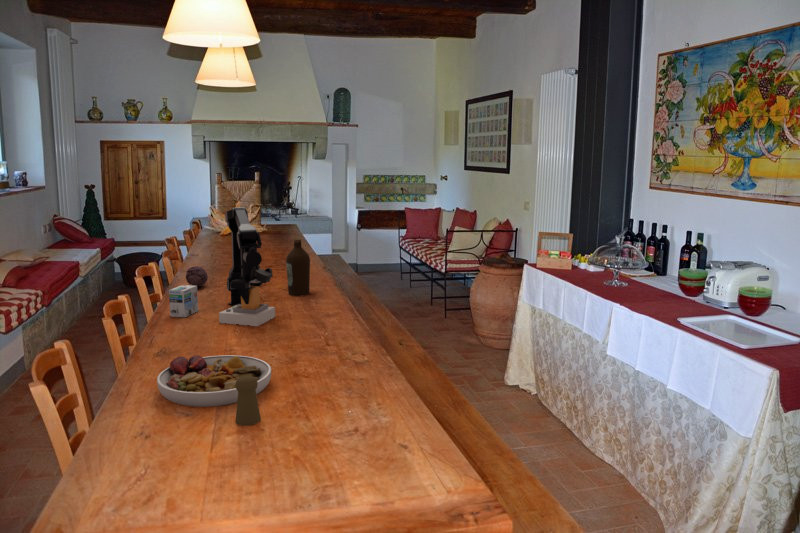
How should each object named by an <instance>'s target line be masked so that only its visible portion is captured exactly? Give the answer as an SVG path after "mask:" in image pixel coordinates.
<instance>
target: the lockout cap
mask: <svg viewBox="0 0 800 533" xmlns="http://www.w3.org/2000/svg"><path fill="white" fill-rule="evenodd" d="M250 287H253V288H252V289H251V290H250V293H249V304H245V302H244V300H243V298H242V297H241V308H242V309H256V308H258V307H260V304H261V303H260V298H261V297H260V287H259V286H250Z"/></svg>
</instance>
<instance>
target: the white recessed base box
mask: <svg viewBox="0 0 800 533" xmlns="http://www.w3.org/2000/svg"><path fill="white" fill-rule="evenodd" d="M218 318H219V324H225V323H226V325H228V324H229V325H236V324H239V326H247V325H250V326H249V327H260V326H261V325H263V324H265V323H267V322H268V321H271V320H272V319H274V318H276V307H275V306H269V304H267V303H266V304H265V303H260V307H258V308H256V309H255V310H254V309H242V308H241V304H238V305H232V306H231V307H229V308H227V309H225V310H222V311H218ZM270 319H271V320H270Z"/></svg>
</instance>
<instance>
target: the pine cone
mask: <svg viewBox="0 0 800 533" xmlns="http://www.w3.org/2000/svg"><path fill="white" fill-rule="evenodd" d="M208 278H209V277H208V273H207V271H206V269H204V267H200V266H199V265H198V266H196V265H195V266H190V267H189V268H188V269H187V271H186V274H185V279H186V280H185V281H186V283H187V284H189V285H192V286H197V287H202V286H204V285H205V284H206V283H207V281H208V280H209V279H208Z"/></svg>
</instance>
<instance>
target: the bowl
mask: <svg viewBox="0 0 800 533" xmlns="http://www.w3.org/2000/svg"><path fill="white" fill-rule="evenodd" d="M242 376H253V377H255V378H256V379H257V382H258V385H257V388H256V395H258V394H260V393H261V392H262V391H263V390H265V388H267V386H268V384H269V383H270V381H271V378H272V367H271V365H270V364H269V363H268V362H267V361H264V360H263V359H260V358H256V357H253V356H245V355H233V354H231V355H229V354H227V355H210V356H201V355H199V354H196V355H193V356H190V357H189V359H188V358H187V357H185V356H178V357H175V358H174V359H172V361H170V363H169V366H168V367H166V368H165V369H163V370H162V371H161V372H159V374H158V376H156V385H157V388H158V390H159V392H160V394H161V395H162V396H163V397H164V398H165V399H167V400H168V401H170V402H173V403H174V404H178V405H181V406H187V407H198V408H200V407H201V408H204V407H205V408H207V407H209V408H210V407H220V406H225V405H226V406H227V405H231V404H237V399H238V391H237V389H236V386H235V384H236V380H237V379H238V378H239V377H242Z"/></svg>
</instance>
